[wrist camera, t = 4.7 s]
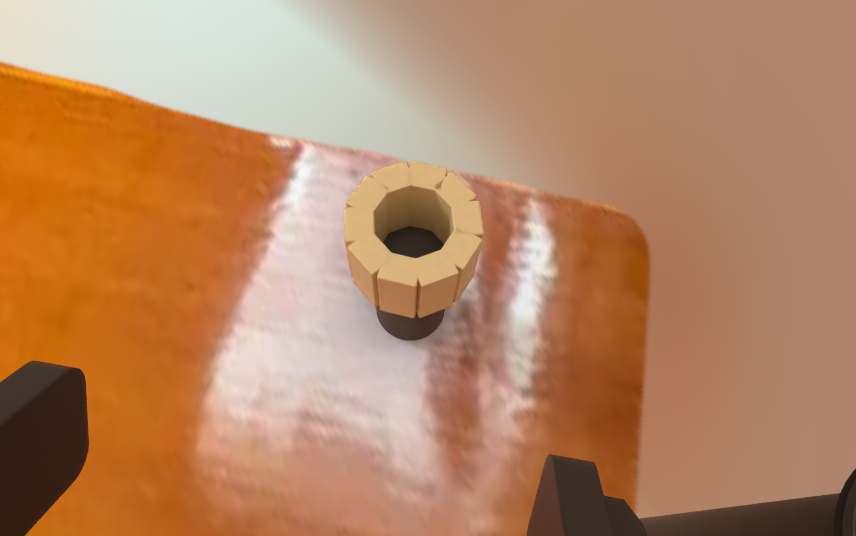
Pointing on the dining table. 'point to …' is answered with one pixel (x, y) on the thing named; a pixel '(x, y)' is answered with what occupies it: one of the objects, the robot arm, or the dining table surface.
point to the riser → (415, 246)
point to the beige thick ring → (423, 208)
